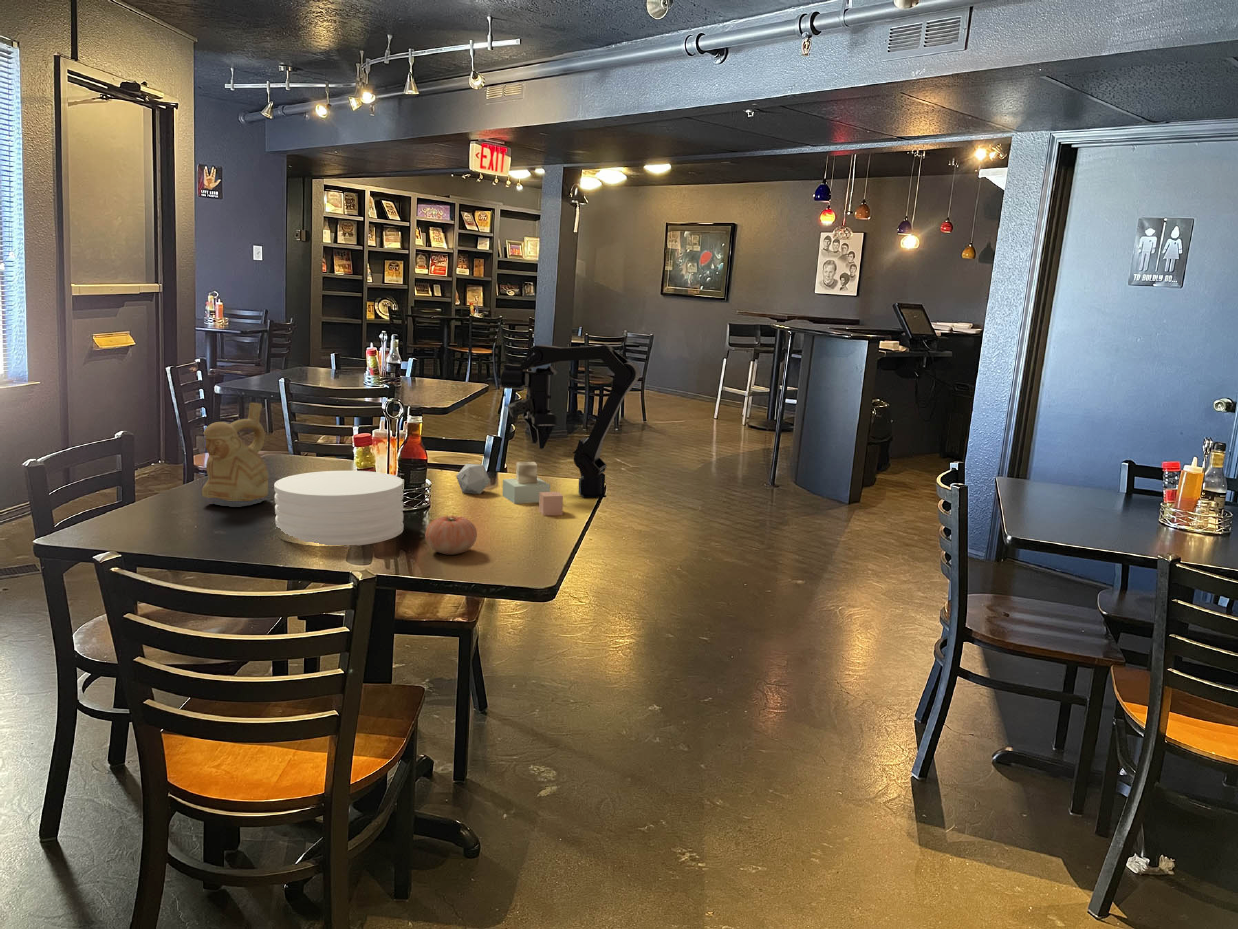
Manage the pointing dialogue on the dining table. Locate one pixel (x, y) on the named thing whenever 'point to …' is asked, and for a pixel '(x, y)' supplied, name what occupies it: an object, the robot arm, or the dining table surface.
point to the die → (473, 478)
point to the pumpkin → (451, 535)
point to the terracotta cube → (550, 503)
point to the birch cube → (526, 472)
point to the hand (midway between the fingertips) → (537, 445)
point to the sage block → (523, 491)
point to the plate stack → (340, 507)
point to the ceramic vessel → (236, 460)
